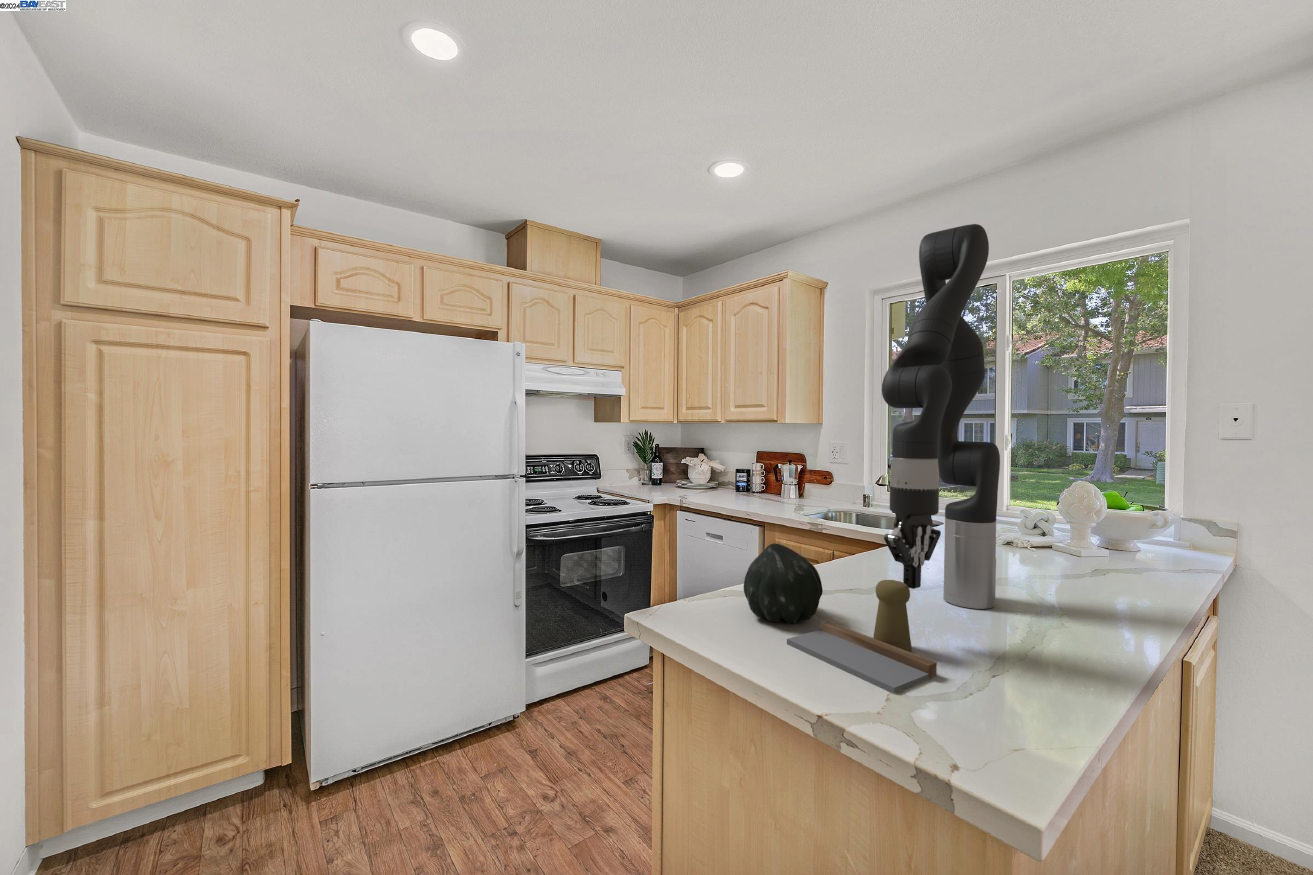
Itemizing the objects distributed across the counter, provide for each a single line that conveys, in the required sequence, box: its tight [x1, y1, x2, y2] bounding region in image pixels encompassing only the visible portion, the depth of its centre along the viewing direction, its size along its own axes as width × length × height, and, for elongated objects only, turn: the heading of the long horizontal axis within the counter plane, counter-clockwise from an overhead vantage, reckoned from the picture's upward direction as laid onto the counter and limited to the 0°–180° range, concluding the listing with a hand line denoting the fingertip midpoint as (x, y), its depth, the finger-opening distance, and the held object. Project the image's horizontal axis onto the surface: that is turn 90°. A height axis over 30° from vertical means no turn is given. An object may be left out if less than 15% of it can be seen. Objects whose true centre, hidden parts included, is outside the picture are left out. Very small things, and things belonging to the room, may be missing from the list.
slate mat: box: [786, 629, 929, 694], centre depth 86 cm, size 8×20×1 cm, turn 32°
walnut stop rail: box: [819, 620, 938, 680], centre depth 89 cm, size 2×20×2 cm, turn 32°
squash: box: [743, 542, 824, 624], centre depth 105 cm, size 14×15×15 cm
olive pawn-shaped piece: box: [872, 579, 913, 653], centre depth 91 cm, size 6×6×11 cm
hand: (912, 586), depth 94 cm, fingers closed
